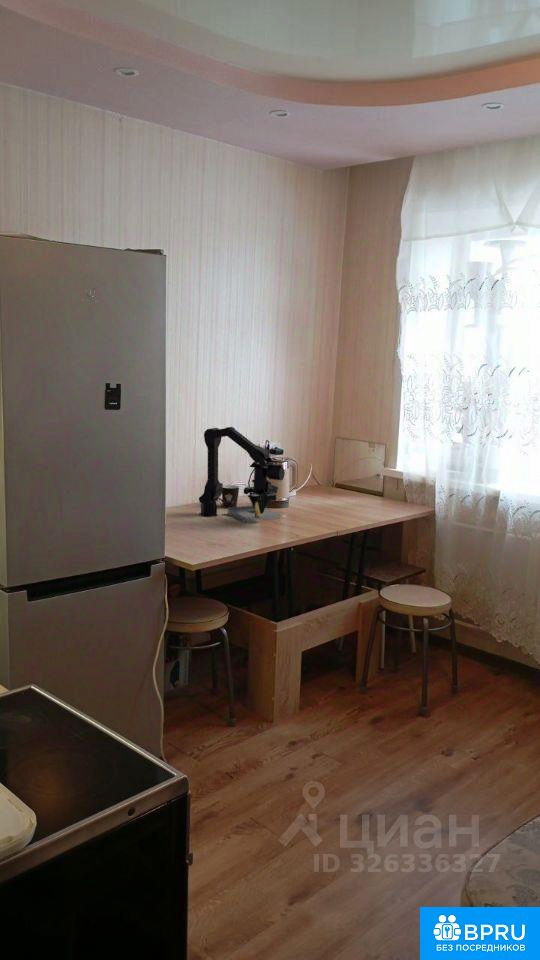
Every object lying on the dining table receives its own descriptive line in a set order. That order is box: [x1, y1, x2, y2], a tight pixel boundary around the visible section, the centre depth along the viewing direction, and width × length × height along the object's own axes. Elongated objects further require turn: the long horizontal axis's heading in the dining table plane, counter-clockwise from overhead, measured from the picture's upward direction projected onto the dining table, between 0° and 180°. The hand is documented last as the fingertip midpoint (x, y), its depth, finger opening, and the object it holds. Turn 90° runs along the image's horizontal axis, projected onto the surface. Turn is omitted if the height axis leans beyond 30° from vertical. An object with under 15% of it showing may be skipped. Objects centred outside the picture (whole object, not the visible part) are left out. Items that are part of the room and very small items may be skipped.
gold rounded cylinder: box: [254, 501, 264, 518], centre depth 344 cm, size 4×4×7 cm
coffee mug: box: [218, 484, 240, 509], centre depth 374 cm, size 12×9×10 cm
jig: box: [227, 504, 281, 523], centre depth 356 cm, size 18×16×3 cm
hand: (259, 512), depth 344 cm, fingers closed on gold rounded cylinder, 4 cm apart
